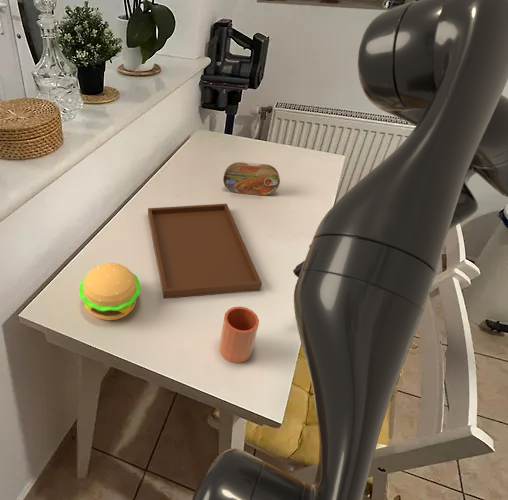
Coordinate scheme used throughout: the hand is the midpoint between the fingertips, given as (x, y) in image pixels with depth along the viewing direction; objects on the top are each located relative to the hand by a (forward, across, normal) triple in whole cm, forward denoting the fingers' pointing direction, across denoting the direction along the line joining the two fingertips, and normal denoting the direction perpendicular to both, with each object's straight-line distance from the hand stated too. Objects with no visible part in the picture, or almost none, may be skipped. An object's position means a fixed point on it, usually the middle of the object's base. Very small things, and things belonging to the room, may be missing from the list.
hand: (305, 293), depth 71 cm
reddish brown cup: (+17, 0, +3) cm, 17 cm away
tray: (+18, -29, +2) cm, 34 cm away
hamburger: (+33, -14, -13) cm, 38 cm away
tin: (+4, -52, +15) cm, 55 cm away
